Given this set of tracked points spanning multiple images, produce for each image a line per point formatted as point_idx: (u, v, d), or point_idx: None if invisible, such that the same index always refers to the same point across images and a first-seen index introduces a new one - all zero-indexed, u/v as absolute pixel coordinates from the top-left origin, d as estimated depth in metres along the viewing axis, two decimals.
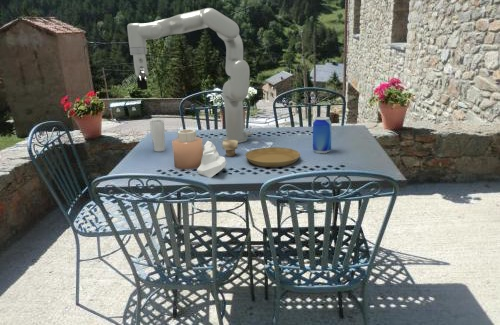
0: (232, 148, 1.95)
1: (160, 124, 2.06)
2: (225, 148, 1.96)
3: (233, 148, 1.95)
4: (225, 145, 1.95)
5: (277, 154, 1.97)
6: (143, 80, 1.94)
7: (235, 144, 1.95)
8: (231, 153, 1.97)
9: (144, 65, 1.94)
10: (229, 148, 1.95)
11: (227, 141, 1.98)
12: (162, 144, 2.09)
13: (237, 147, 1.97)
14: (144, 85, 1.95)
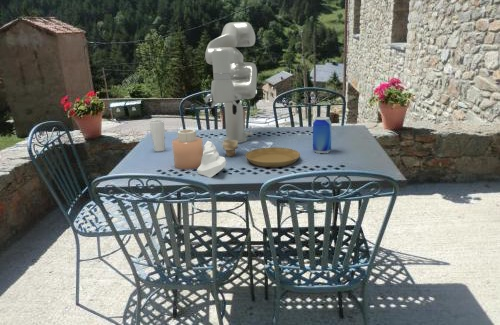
0: (232, 148, 1.95)
1: (160, 124, 2.06)
2: (225, 148, 1.96)
3: (233, 148, 1.95)
4: (225, 145, 1.95)
5: (277, 154, 1.97)
6: None
7: (235, 144, 1.95)
8: (231, 153, 1.97)
9: None
10: (229, 148, 1.95)
11: (227, 141, 1.98)
12: (162, 144, 2.09)
13: (237, 147, 1.97)
14: None
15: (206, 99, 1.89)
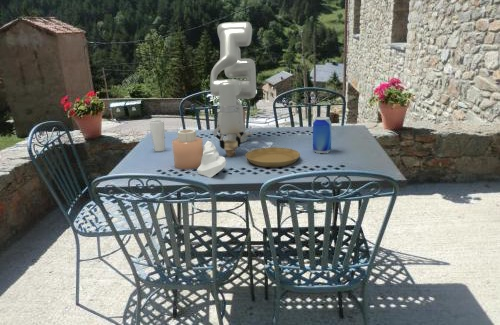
0: (232, 148, 1.95)
1: (160, 124, 2.06)
2: (225, 148, 1.96)
3: (233, 148, 1.95)
4: (225, 145, 1.95)
5: (277, 154, 1.97)
6: None
7: (235, 144, 1.95)
8: (231, 153, 1.97)
9: None
10: (229, 148, 1.95)
11: (227, 141, 1.98)
12: (162, 144, 2.09)
13: (237, 147, 1.97)
14: None
15: (215, 133, 1.93)
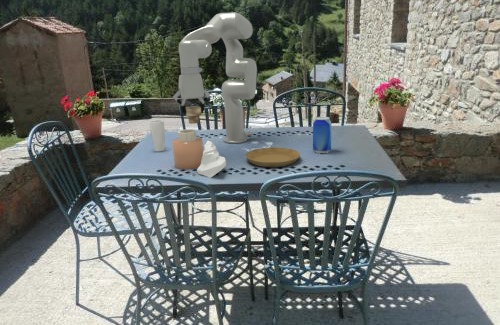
0: (194, 114, 1.80)
1: (160, 124, 2.06)
2: (187, 114, 1.80)
3: (196, 114, 1.80)
4: (187, 111, 1.80)
5: (277, 154, 1.97)
6: None
7: (198, 110, 1.80)
8: (194, 120, 1.82)
9: None
10: (191, 114, 1.80)
11: (190, 107, 1.83)
12: (162, 144, 2.09)
13: (200, 113, 1.82)
14: None
15: (175, 97, 1.78)
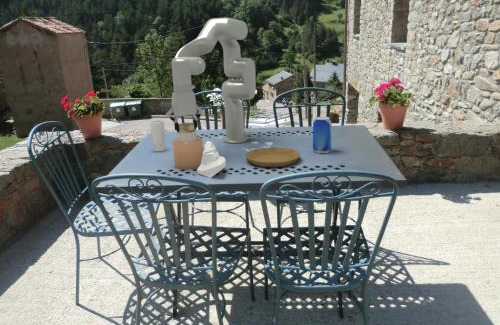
0: (187, 131, 1.80)
1: (160, 124, 2.06)
2: (180, 131, 1.81)
3: (189, 131, 1.80)
4: (180, 128, 1.80)
5: (277, 154, 1.97)
6: None
7: (191, 127, 1.80)
8: None
9: None
10: (184, 131, 1.80)
11: (183, 124, 1.83)
12: (162, 144, 2.09)
13: (193, 130, 1.82)
14: None
15: (168, 114, 1.78)
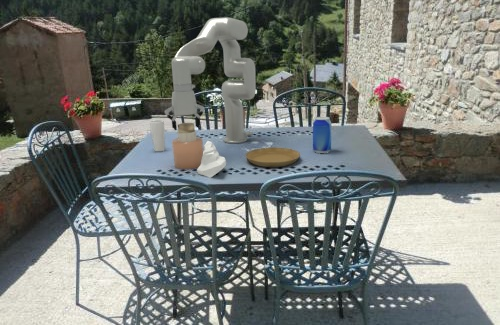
0: (187, 131, 1.80)
1: (160, 124, 2.06)
2: (180, 131, 1.81)
3: (189, 131, 1.80)
4: (180, 128, 1.80)
5: (277, 154, 1.97)
6: None
7: (191, 127, 1.81)
8: None
9: None
10: (184, 131, 1.80)
11: (183, 124, 1.83)
12: (162, 144, 2.09)
13: (193, 130, 1.82)
14: None
15: (166, 112, 1.78)
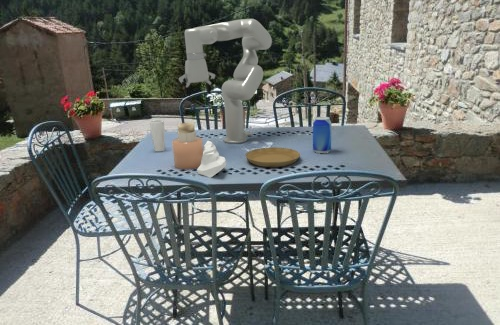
0: (187, 131, 1.80)
1: (160, 124, 2.06)
2: (180, 131, 1.81)
3: (189, 131, 1.80)
4: (180, 128, 1.80)
5: (277, 154, 1.97)
6: None
7: (191, 127, 1.81)
8: None
9: None
10: (184, 131, 1.80)
11: (183, 124, 1.83)
12: (162, 144, 2.09)
13: (193, 130, 1.82)
14: None
15: (181, 79, 1.94)
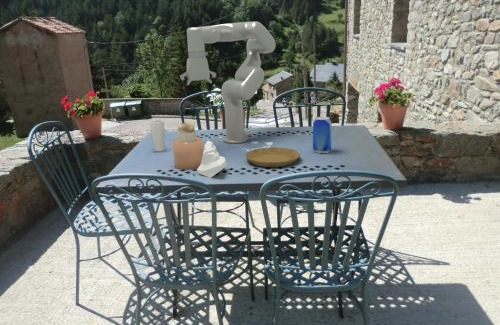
0: (187, 131, 1.80)
1: (160, 124, 2.06)
2: (180, 131, 1.81)
3: (189, 131, 1.80)
4: (180, 128, 1.80)
5: (277, 154, 1.97)
6: None
7: (191, 127, 1.81)
8: None
9: None
10: (184, 131, 1.80)
11: (183, 124, 1.83)
12: (162, 144, 2.09)
13: (193, 130, 1.82)
14: None
15: (182, 77, 1.96)
